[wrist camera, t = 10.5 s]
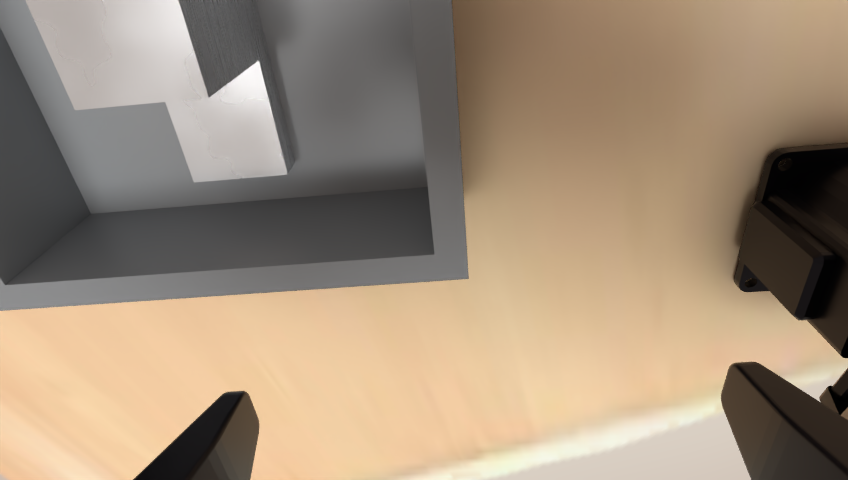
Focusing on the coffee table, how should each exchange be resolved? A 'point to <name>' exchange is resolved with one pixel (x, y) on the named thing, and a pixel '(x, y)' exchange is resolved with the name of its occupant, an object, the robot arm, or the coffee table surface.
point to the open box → (248, 197)
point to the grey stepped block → (177, 74)
